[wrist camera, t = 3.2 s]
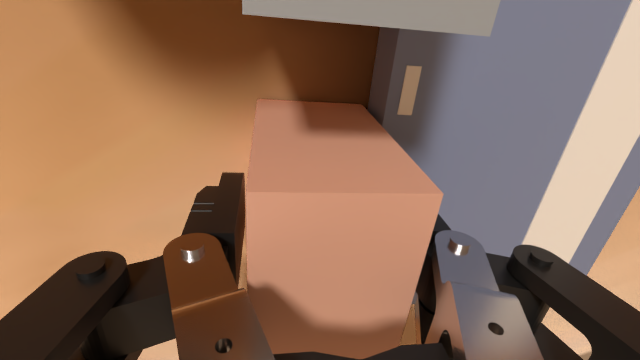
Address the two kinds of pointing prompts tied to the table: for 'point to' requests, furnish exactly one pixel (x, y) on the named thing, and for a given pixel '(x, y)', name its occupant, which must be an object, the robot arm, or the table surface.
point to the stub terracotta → (333, 229)
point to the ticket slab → (522, 121)
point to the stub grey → (387, 13)
